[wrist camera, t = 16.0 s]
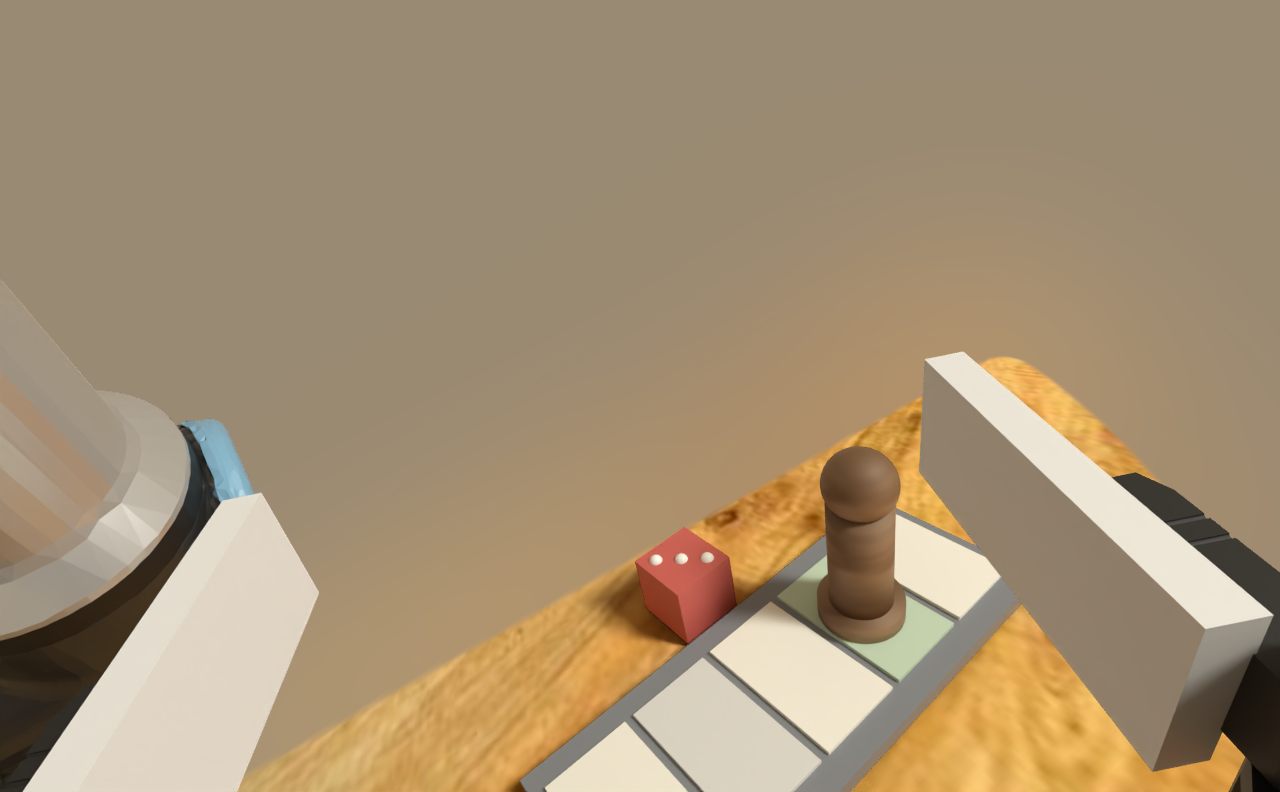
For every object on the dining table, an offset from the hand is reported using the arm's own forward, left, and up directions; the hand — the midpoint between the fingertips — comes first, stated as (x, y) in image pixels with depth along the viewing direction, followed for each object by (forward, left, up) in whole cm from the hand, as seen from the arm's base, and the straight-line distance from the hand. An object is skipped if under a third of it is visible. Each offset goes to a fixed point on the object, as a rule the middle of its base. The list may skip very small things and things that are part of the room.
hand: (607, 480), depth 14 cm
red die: (-18, +13, -28) cm, 35 cm away
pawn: (-9, +19, -26) cm, 34 cm away
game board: (-9, +13, -28) cm, 32 cm away
